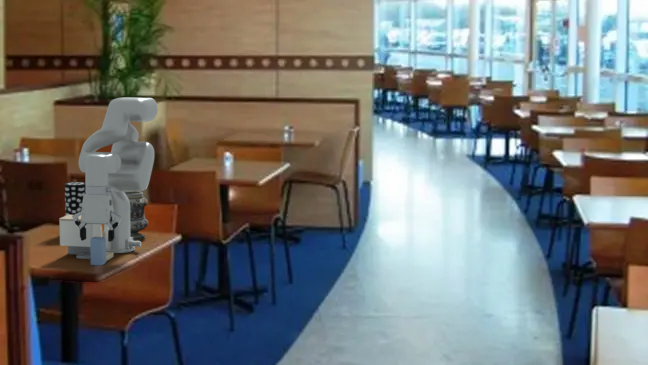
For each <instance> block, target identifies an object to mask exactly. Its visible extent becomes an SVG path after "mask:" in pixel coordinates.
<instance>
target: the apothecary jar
mask: <svg viewBox="0 0 648 365" xmlns="http://www.w3.org/2000/svg"><path fill="white" fill-rule="evenodd" d="M124 193H125V194H126V196H127V197H128V199H129V201H130V237H133V240H134V241H140V240H143V239H144V240H145V239H146V235H145V234H142V233H141V231H143V230H145V229H146V228H147V227H148V226H149V221H148V219H147V218H146V217H145V207H147V205H148V199H147V198H146V197H144V192H143V191H124Z"/></svg>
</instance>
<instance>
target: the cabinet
mask: <svg viewBox="0 0 648 365" xmlns="http://www.w3.org/2000/svg"><path fill="white" fill-rule="evenodd" d="M72 216H73V215H66V216H65V215H64V216H62V217H60V218H59V219H58V221H59V246H61V247H62V246H63V247H67V254H68V255H78V254H80V253H81V252H82V253H91V251H90V239H91V238H93V237H102V229H101V228H102V224H87V225H86V226H85V228H86V239H85V240H83V241H82V240H81V238H80V229H79V228H78V226H77V225H76V224H75V221H74V220H73V218H72ZM78 220H79V221H80V222H81V223H82V220H81V216H79V217H78Z"/></svg>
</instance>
